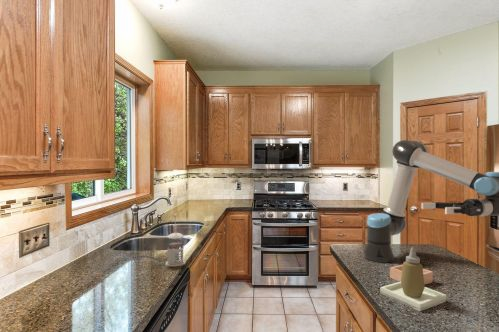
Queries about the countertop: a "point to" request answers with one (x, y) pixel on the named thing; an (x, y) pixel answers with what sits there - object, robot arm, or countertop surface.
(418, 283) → the squeeze bottle
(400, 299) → the tray
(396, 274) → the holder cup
